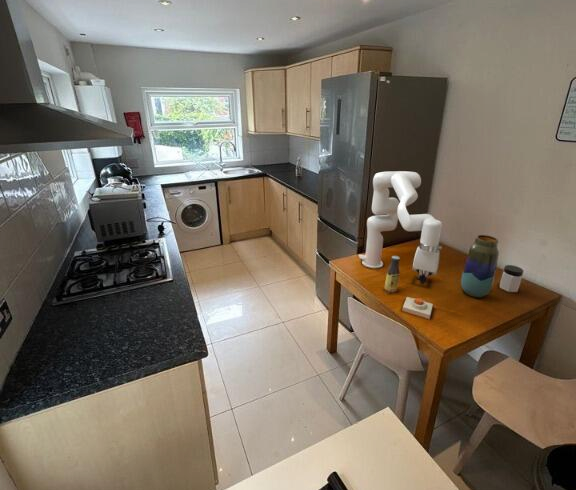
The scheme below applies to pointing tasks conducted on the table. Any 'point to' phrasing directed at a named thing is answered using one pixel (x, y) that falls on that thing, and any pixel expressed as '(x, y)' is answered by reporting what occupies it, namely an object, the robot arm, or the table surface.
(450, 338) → the table surface
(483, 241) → the vase
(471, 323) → the table surface
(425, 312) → the block
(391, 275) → the sauce bottle
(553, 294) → the table surface
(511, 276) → the jar
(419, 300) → the button
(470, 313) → the table surface
